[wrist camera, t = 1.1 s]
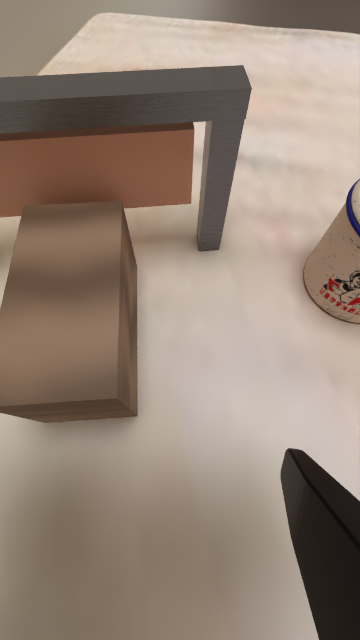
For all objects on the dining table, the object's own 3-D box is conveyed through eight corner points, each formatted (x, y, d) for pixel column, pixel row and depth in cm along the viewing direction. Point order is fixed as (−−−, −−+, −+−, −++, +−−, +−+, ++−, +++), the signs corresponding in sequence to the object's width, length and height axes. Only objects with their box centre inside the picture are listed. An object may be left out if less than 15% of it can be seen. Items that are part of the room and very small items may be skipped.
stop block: (137, 416, 22) (116, 398, 15) (45, 422, 22) (-22, 407, 14) (136, 266, 28) (121, 200, 20) (64, 270, 28) (23, 205, 20)
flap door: (190, 203, 23) (194, 129, 18) (-35, 219, 22) (-101, 147, 17) (189, 193, 24) (192, 118, 18) (-31, 208, 23) (-95, 134, 18)
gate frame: (219, 251, 28) (251, 88, 16) (-27, 270, 27) (-207, 112, 15) (215, 232, 29) (243, 65, 17) (-22, 250, 28) (-187, 87, 16)
